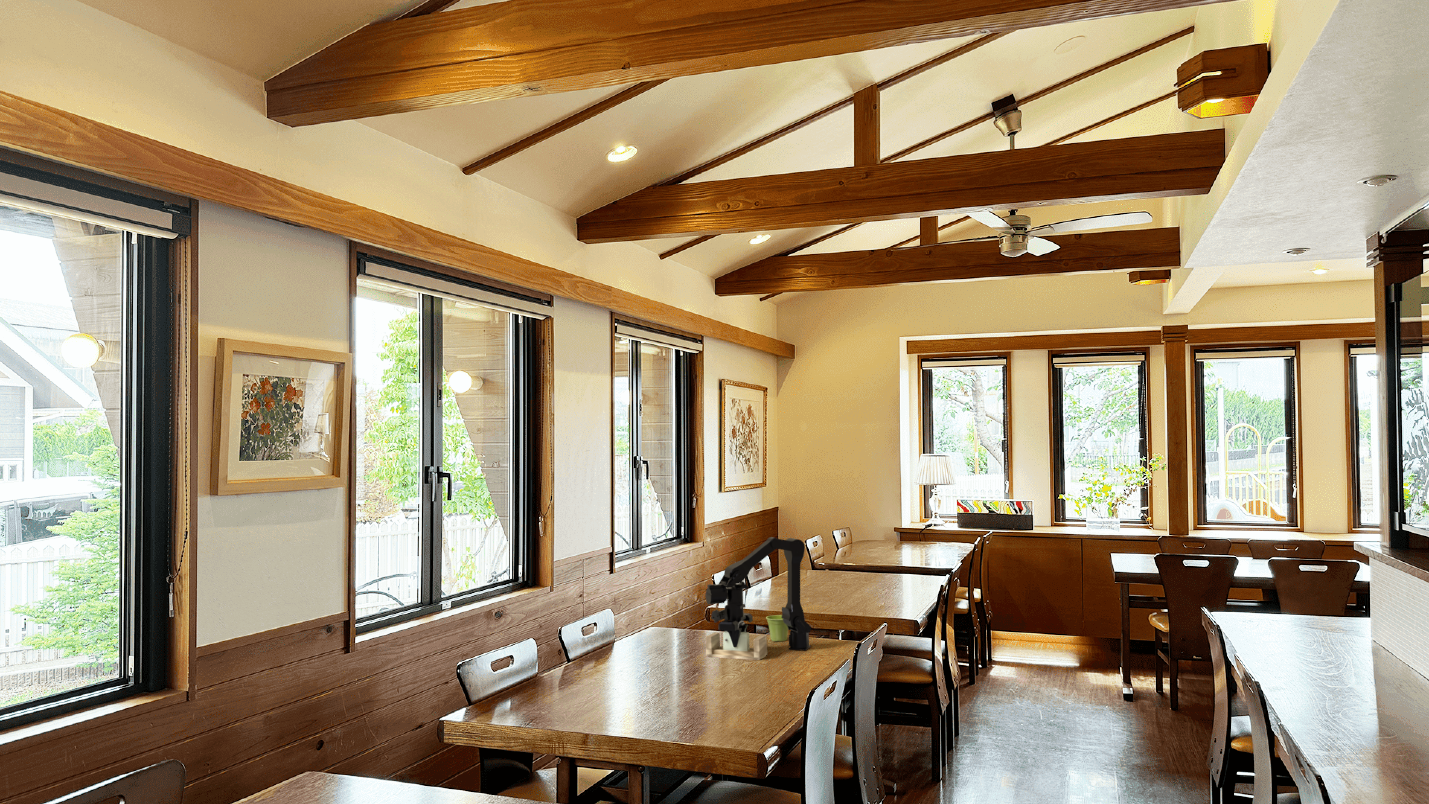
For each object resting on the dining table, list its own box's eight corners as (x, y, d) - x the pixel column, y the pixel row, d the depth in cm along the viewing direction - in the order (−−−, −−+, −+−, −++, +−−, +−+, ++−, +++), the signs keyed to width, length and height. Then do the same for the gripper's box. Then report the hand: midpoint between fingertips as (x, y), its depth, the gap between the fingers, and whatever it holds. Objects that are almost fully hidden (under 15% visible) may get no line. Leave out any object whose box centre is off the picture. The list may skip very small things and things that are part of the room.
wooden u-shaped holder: (767, 655, 319) (766, 635, 319) (759, 660, 311) (758, 639, 312) (715, 651, 326) (714, 632, 327) (706, 656, 319) (705, 636, 319)
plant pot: (779, 636, 350) (778, 614, 350) (796, 640, 343) (795, 616, 343) (761, 640, 344) (760, 617, 344) (778, 643, 336) (778, 620, 337)
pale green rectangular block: (749, 649, 318) (749, 632, 319) (746, 651, 315) (745, 634, 316) (726, 648, 322) (725, 631, 322) (722, 650, 319) (722, 633, 319)
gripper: (724, 596, 331) (725, 639, 331) (703, 605, 314) (705, 650, 313) (752, 597, 327) (753, 641, 326) (733, 606, 310) (735, 652, 309)
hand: (736, 646), depth 319 cm, fingers closed on pale green rectangular block, 2 cm apart
